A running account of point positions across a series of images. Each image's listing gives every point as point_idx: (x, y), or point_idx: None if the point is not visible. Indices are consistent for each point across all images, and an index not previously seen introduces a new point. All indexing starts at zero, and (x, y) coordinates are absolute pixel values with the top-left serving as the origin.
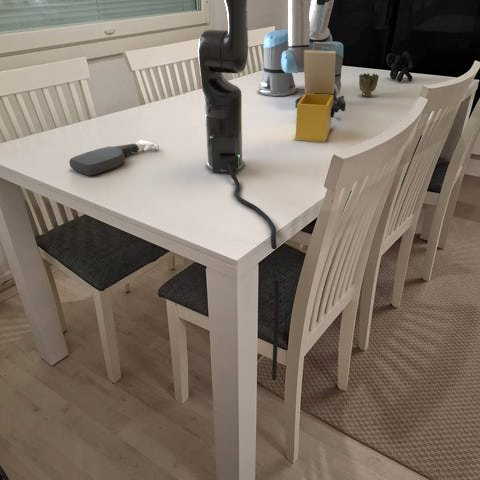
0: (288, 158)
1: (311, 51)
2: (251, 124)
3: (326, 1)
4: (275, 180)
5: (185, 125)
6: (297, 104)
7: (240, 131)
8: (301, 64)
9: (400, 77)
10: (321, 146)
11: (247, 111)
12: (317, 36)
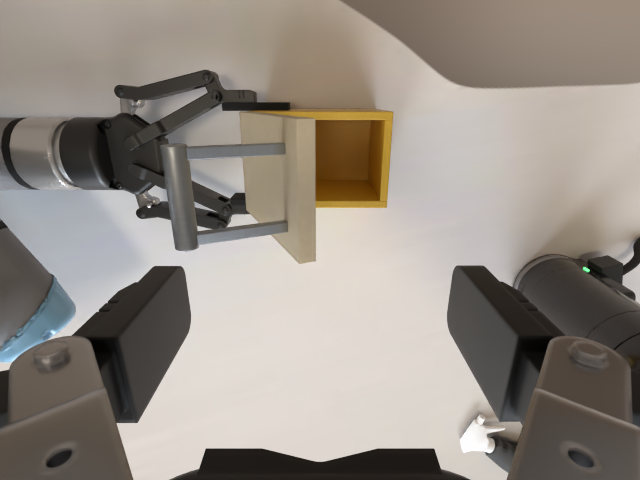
0: (495, 176)
1: (307, 232)
2: (285, 303)
3: (182, 285)
4: (615, 178)
5: (328, 417)
6: (386, 206)
7: (611, 290)
8: (35, 273)
9: None
10: (407, 113)
11: (189, 335)
12: None
